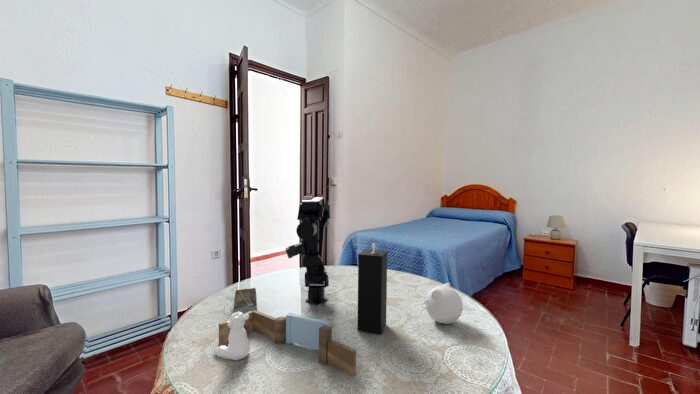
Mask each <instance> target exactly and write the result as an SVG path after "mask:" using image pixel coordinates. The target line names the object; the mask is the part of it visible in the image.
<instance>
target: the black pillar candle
mask: <svg viewBox="0 0 700 394" xmlns="http://www.w3.org/2000/svg"><path fill="white" fill-rule="evenodd" d="M375 249H376V242H372V243H371V249H364V250H363V251H361V252H360V253H357V260H358V261H357V262H358V263H357V268H358V269H357V276H358V277H357V331H358V332H361V331H362V332H363V333H368V334H369V333H370V334H375V335H379V336H380V335H382V333H383V332H384V329H385V328H386V326H387V298H388V297H387V293H388V292H387V291H388V290H387V289H388V285H387V284H388V283H387V282H388V251H387V250H375Z"/></svg>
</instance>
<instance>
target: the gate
mask: <svg viewBox="0 0 700 394" xmlns="http://www.w3.org/2000/svg"><path fill="white" fill-rule="evenodd" d="M285 317H286V342H285V343H286V344H289V345H290V344H294V345H295V344H296V345H299V346H304V347H307V348H311V349H314V350H318V351H319V328H320V327H322V326H324V325H327V326H330V321H328V320H322V319H319V318H314V317H309V316H304V315H300V314H296V313H292V312H289V313H287V314H286V315H285Z"/></svg>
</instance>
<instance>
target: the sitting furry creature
mask: <svg viewBox="0 0 700 394" xmlns="http://www.w3.org/2000/svg"><path fill="white" fill-rule="evenodd" d="M248 318H249V314H246V315H243V313H242V312H236V313H234V312H233V313H232V314H231V315H230V317H229V318H228V319H227V320H228V321H227V320H226V321H227V323H228V324H227V325H228V326H229V328H230V329H231V330H230V333H229V337H228V340H229V342H228V344H227V345H228V346H226V345H220V344H219V346H217V347H215V348H214V355H216V356H217V358H221V359H222V358H223V359H227V360H231V361H240V360H242V359H244V358H247V356H248V355H249V354H250V350H251V347H250V346H251V343H250V340H249V338H248V333H246V330H245V329H244V327H243V326H244V324H245V320H247V319H248Z"/></svg>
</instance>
